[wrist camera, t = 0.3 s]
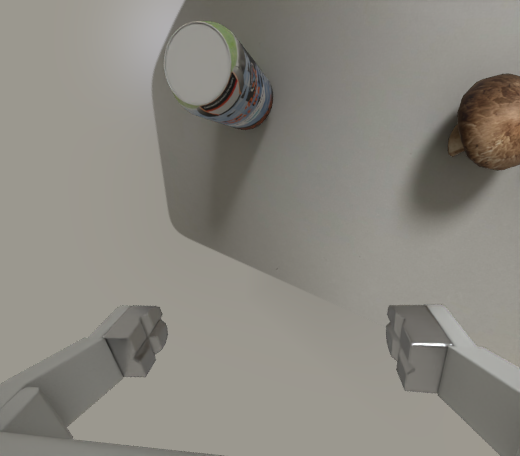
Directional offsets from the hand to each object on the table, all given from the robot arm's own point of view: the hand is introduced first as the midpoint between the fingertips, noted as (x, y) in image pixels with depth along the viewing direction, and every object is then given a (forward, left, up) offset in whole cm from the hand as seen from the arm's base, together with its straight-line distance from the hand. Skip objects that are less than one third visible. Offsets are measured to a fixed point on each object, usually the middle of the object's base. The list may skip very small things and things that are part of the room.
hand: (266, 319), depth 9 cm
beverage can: (-9, -6, -24) cm, 26 cm away
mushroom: (-4, +17, -24) cm, 29 cm away
